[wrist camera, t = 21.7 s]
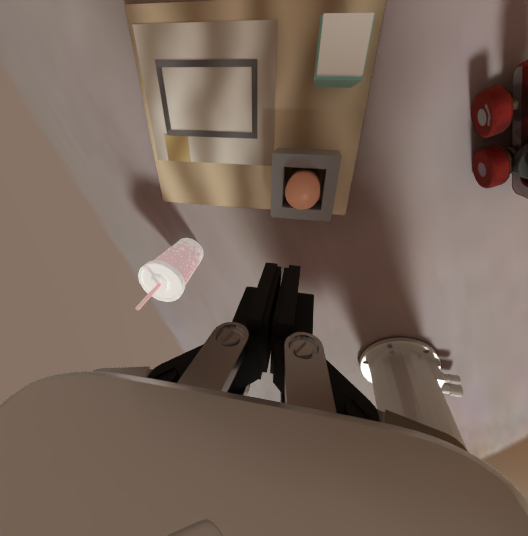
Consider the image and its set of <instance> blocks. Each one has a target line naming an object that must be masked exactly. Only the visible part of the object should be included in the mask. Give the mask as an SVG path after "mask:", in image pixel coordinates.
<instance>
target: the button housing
mask: <svg viewBox="0 0 528 536" xmlns="http://www.w3.org/2000/svg"><path fill="white" fill-rule="evenodd" d="M341 157H342V156H341V153H340V151H339V150H317V149H292V148H277V149H276V150H275V151H274V152H273V153H272V183H271V217H274V218H287V219H299V220H311V221H323V222H331V219H332V213H333V206H334V200H335V194H336V188H337V182H338V176H339V169H340V163H341ZM288 167H296V168H315V169H325V172H324V180H323V187H322V195H321V200H320V199H318V201H317V202H316V204H315V205H314V206H312V207H311V208H308V209H305V210H299V209H296V208H294V207H292V206H291V205H290V204H289V203H288V202H287V200H286V197H285V189H286V186H287V170H288Z"/></svg>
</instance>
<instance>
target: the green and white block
mask: <svg viewBox="0 0 528 536" xmlns="http://www.w3.org/2000/svg"><path fill="white" fill-rule="evenodd" d="M374 18H375V14H374V13H324V14H323V15H321V17H320V26H319V36H318V45H317V54H316V63H315V73H314V82H315V87H340V88H351V87H353V86H354V85H356V84H358V83H359V82H361V81H362V80H363V76H364V70H365V65H366V60H367V55H368V49H369V44H370V39H371V34H372V28H373V23H374Z"/></svg>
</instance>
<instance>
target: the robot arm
mask: <svg viewBox="0 0 528 536" xmlns="http://www.w3.org/2000/svg"><path fill="white" fill-rule="evenodd" d="M300 267H301V266H294V265H289V268H284V273H283V277H282V282H281V267H277V264H275V263H266V264H265V267H264V270H263V273H262V276H261V278H260V281H259V284H258V287H257V288H255V287H246V289H245V292H244V294H243V297H242V299H241V302H240V304H239V306H238V309H237V311H236V314H235V316H234V319H233V321H232V322H226V323H223V324H221V325H219V326H218V327H216V328H215V329H214V331H213V332H212V333H211V335H210V336H209V338H208V339H207V341H206V342H205V343H204V344H203V345H201V346H199V347H197V348H195V349H193V350H190V351H188V352H186V353H184V354H182V355H180V356H178V357H175V358H173V359H171V360H169V361H167V362H165V363H162V364H161V365H159V366H157V367H156V368H154V369H150V367H128V368H103V369H96V370H93V371H82V372H70V373H64V374H58V375H53V376H49V377H46V378H43V379H40V380H37V381H35V382H33V383H30V384H29V385H27V386H25V387H24V388H22V389H21V390H19V391H18V392H16V393H15V394H13V395H12V396H11V397H9V398H8V399H7V400H6V401H4V402H3V403H2V404H1V405H0V536H528V500H527V499H526V498H525V497H524V495H523V494H522V493H521V492H520V491H519V490H518V489H517V487H516V486H515V485H514V484H513V483H512V482H511V481H510V480H508V479H507V478H506V477H505V476H503V474H501V473H500V472H499V471H497V470H496V469H494V468H493V467H492V466H490V465H489V464H487V463H486V462H484V461H483V460H481V459H479V458H478V457H476V456H474V455H472V454H470V453H469V452H468V451H467V449H466V446H465V444H464V442H463V439H462V437H461V435H460V432H459V430H458V428H457V425H456V423H455V421H454V418H453V416H452V414H451V411H450V409H449V406H448V404H447V402H446V399H445V397H444V395H443V394H447V395H450V396H456V397H462V396H463V389H462V387H461V385H459V384H460V377H459V376H457V375H450V374H448V375H447V374H444V373H443V372H441V371H440V369H441V362H440V359H439V356H438V355H437V353H436V351H435V350H434V349H433V348H432V347H431V346H429V345H428V344H426V343H424V342H422V341H419V340H416V339H411V338H398V337H397V338H388V339H384V340H381V341H378V342H376V343H374V344H372V345H370V346H369V347H368V348H367V349H365V350H364V352H363V353H362V355H361V357H360V370H361V372H362V374H363V376H364V377H365V378H366V379H367V380H368V381H369V382H371V383H372V384H373V389H374V394H375V400H376V405H377V409H376V408H375V406H374V405H373V404H372V403H371V402H370V401H369V400H368V399H367V398H366V397H365V396H364V395H363V394H362V393H361V392H360V391H359V390H358V389H357V388H356V387H355V386H354V385H353V384H351V383H350V382H349V381H348V380H347V379H346V378H345V377H344V376H343V375H342V374H341V373H340V372H339V371H338V370H337V369H336V368H335V367H334V366H332V365H331V364H330V363H329V362H328V361H327V360H326V358H325V353H324V348H323V345H322V343H321V341H320V340H319V339H318V338H317V337H315V336H314V335H312V333H313V305H314V295H312V294H304V293H298V286H299V277H300ZM280 284H281V286H280ZM270 354H271V367H270V373H272V374H273V383H274V384H275V385H276V386H277V388H278V389H279V390H280V392H281V393H280V402H276V401H270V400H265V399H260V398H254V397H249V396H247V394H248V391H249V388H250V384H251V383H253V382H254V381H256V380H258V379H260V380H261V375H262V372H267V369H268V364H269V359H270ZM444 382H447V383H444Z"/></svg>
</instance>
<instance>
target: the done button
mask: <svg viewBox="0 0 528 536" xmlns="http://www.w3.org/2000/svg"><path fill="white" fill-rule="evenodd" d="M319 196H320V176H319V174H318V172H317V171H316V170H315V169H314V168H297V169H295V170H294V171H293V173H292V174H291V177H290V179H289V181H288V184H287V186H286V189H285V197H286V200H287V202H288V203H289V204H290V205H291V206H292V207H294V208H296V209H299V210H305V209H308V208H311V207H312V206H314V205H315V204H316V202H317V201H318V199H319Z"/></svg>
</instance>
